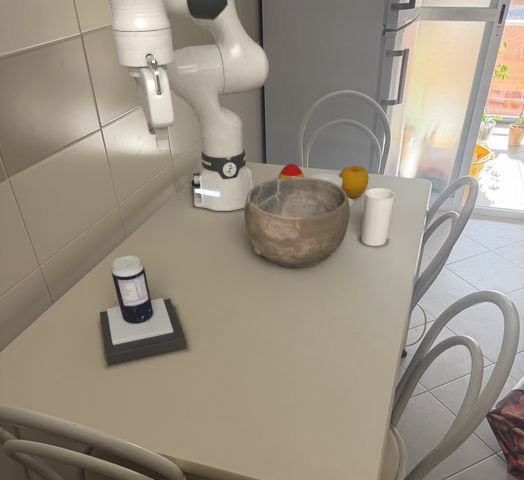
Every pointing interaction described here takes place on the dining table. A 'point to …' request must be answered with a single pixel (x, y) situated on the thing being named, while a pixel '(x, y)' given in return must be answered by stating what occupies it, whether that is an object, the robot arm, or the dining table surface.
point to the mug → (376, 216)
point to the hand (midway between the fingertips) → (158, 140)
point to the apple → (354, 180)
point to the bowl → (296, 219)
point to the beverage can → (132, 289)
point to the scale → (141, 334)
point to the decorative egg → (290, 171)
